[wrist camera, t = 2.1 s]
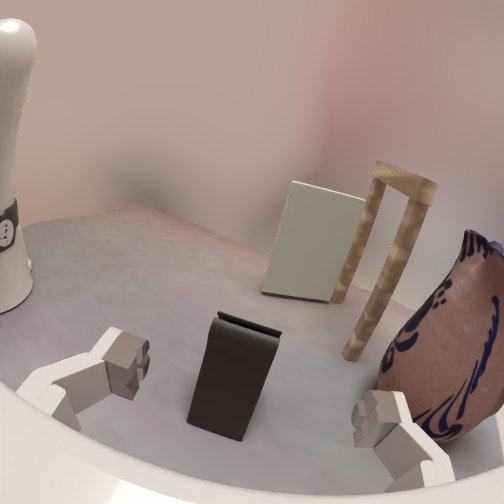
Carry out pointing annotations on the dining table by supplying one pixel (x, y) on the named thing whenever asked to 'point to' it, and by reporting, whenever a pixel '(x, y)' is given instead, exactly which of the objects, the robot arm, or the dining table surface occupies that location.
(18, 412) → the robot arm
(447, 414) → the ceramic pitcher
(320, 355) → the dining table surface
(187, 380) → the dining table surface
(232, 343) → the phone stand
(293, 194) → the door
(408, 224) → the door frame
